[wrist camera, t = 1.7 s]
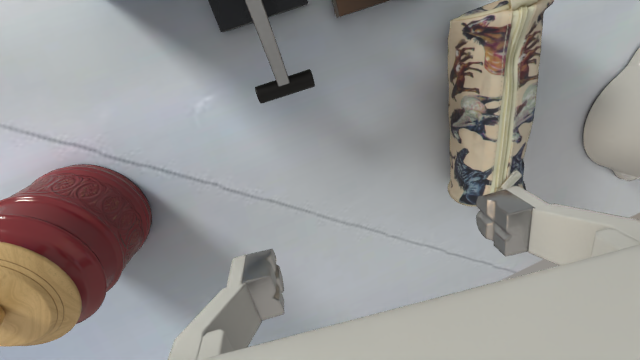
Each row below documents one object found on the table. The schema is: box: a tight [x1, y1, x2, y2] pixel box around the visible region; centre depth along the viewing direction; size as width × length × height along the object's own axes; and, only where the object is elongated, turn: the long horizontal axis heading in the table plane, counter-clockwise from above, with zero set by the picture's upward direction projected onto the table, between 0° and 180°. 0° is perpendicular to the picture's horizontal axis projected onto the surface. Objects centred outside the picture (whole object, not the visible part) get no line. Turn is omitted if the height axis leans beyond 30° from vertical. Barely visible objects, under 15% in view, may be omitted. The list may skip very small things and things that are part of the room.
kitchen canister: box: [0, 165, 152, 346], centre depth 30 cm, size 13×13×18 cm
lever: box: [245, 0, 315, 103], centre depth 22 cm, size 16×5×2 cm, turn 15°
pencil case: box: [448, 0, 554, 206], centre depth 32 cm, size 22×8×10 cm, turn 10°
